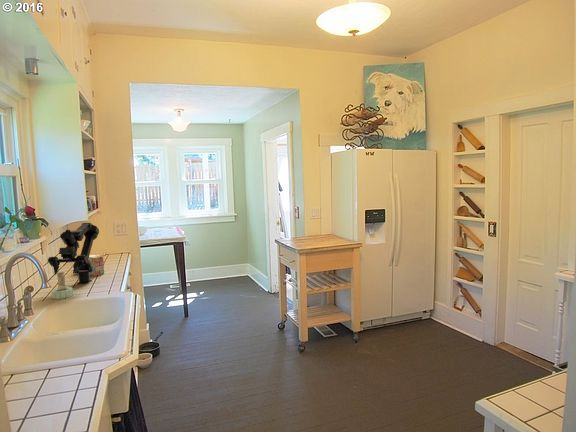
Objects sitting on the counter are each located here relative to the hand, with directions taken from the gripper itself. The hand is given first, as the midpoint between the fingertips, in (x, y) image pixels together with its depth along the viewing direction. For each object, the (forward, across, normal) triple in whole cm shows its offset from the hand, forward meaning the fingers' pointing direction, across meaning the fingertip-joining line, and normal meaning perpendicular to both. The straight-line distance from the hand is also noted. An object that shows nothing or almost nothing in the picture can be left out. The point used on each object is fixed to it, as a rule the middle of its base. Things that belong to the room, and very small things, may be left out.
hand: (64, 273), depth 203 cm
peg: (+11, 0, +5) cm, 12 cm away
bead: (+11, 0, +5) cm, 12 cm away
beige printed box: (-28, -6, +45) cm, 54 cm away
